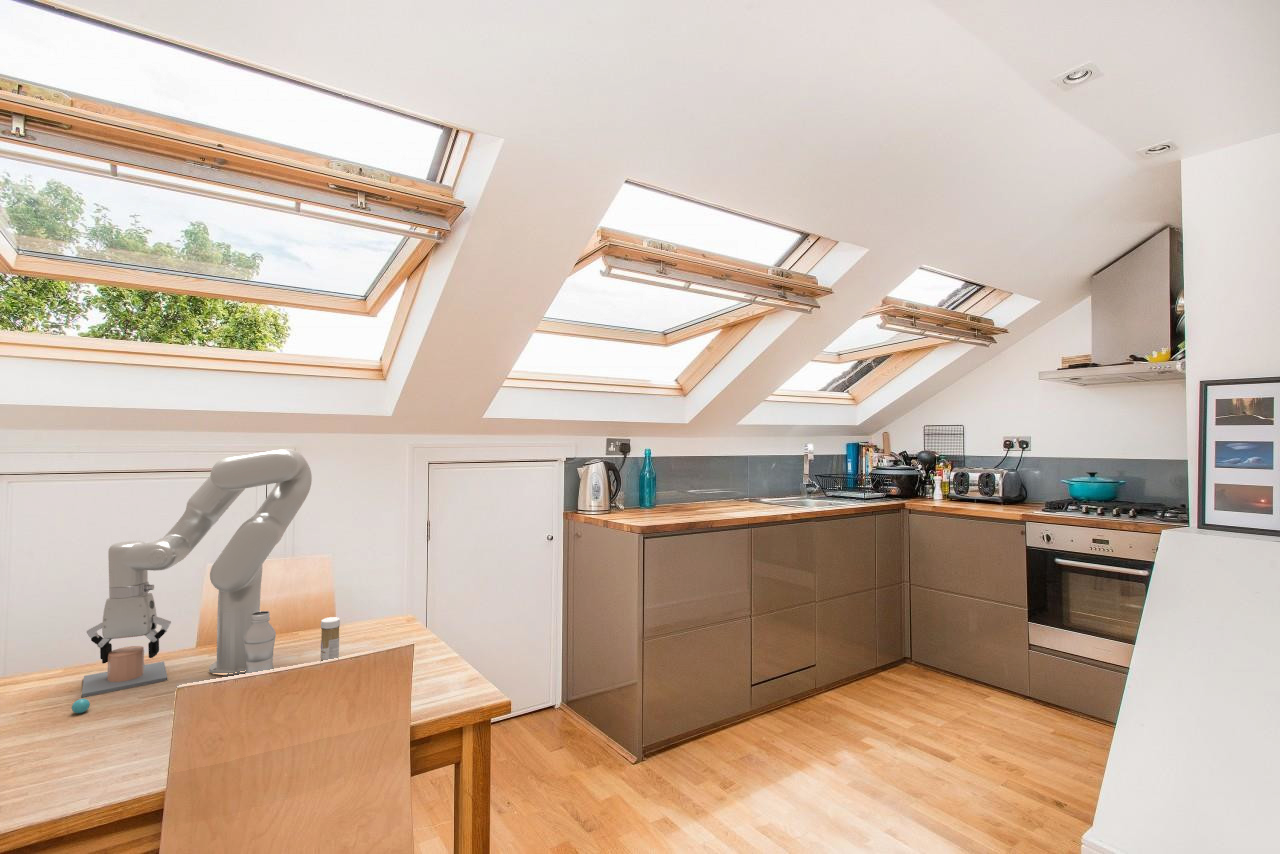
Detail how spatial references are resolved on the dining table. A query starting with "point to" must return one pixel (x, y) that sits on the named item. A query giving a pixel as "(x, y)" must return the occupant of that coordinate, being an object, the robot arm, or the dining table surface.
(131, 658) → the peach domed cylinder
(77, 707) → the teal ball
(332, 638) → the sprinkles bottle
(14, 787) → the dining table surface
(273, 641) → the plastic bottle
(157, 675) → the slate mat
